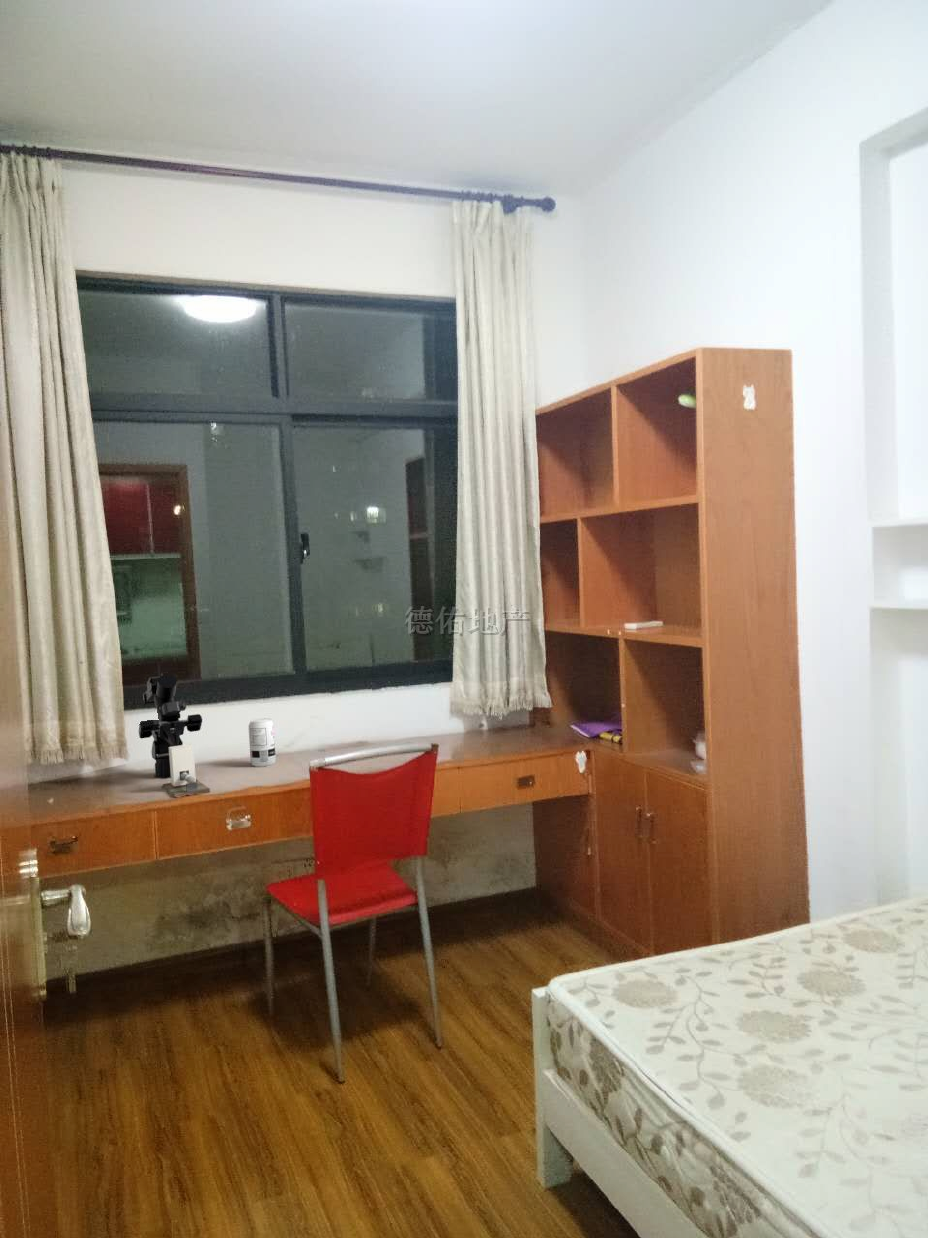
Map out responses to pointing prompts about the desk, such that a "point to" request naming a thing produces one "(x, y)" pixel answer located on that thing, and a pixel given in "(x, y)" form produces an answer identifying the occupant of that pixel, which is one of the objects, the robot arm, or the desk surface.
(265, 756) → the supplement can
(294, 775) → the desk surface
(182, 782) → the white upright block
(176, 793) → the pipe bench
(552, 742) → the desk surface
